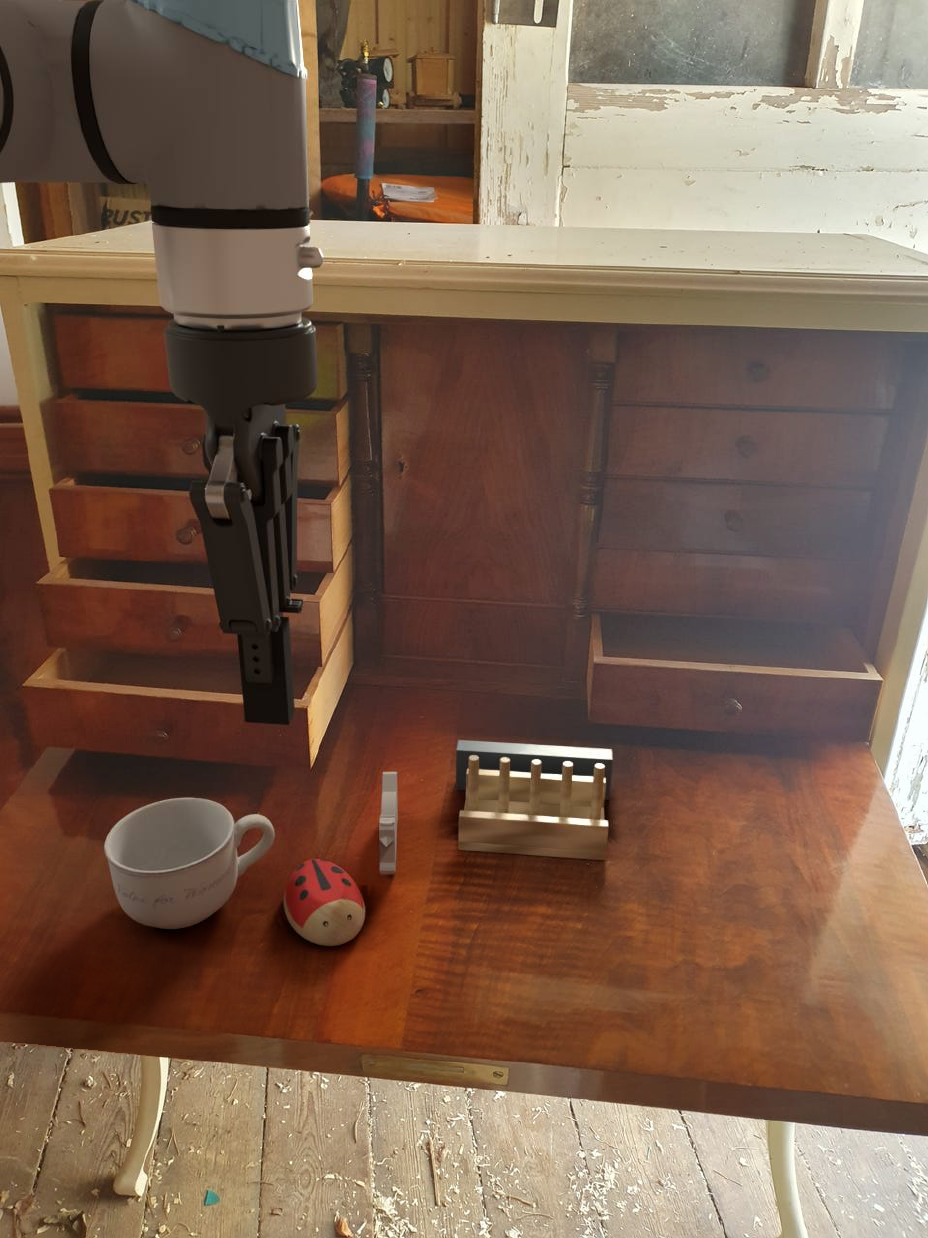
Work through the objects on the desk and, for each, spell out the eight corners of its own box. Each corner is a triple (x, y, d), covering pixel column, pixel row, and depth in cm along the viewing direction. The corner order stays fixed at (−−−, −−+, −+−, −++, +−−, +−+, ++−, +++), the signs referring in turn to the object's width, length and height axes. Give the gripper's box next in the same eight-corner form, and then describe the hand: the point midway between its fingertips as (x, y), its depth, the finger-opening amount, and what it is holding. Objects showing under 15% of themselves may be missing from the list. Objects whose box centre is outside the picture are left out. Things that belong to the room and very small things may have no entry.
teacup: (107, 954, 80) (92, 878, 76) (127, 868, 89) (115, 797, 86) (277, 936, 82) (271, 862, 78) (279, 854, 91) (273, 784, 88)
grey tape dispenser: (397, 818, 97) (395, 885, 88) (384, 819, 97) (379, 885, 88) (397, 770, 94) (393, 834, 85) (382, 770, 94) (378, 834, 85)
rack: (458, 850, 92) (459, 781, 89) (466, 800, 100) (467, 734, 96) (605, 861, 91) (611, 791, 88) (602, 809, 98) (608, 743, 95)
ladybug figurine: (307, 962, 79) (304, 929, 78) (269, 889, 87) (266, 858, 85) (381, 935, 82) (380, 903, 81) (339, 867, 90) (337, 836, 88)
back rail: (455, 790, 101) (456, 750, 99) (457, 779, 103) (458, 739, 101) (609, 800, 100) (612, 759, 98) (608, 789, 102) (612, 749, 99)
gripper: (280, 340, 42) (306, 783, 53) (338, 301, 54) (350, 670, 64) (114, 334, 43) (172, 774, 53) (208, 296, 55) (240, 663, 65)
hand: (270, 716), depth 59 cm, fingers closed
